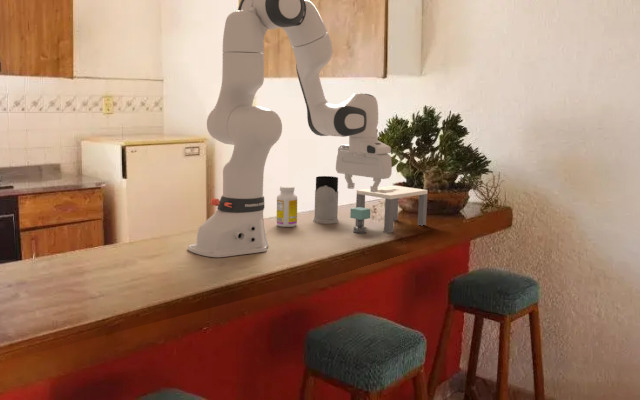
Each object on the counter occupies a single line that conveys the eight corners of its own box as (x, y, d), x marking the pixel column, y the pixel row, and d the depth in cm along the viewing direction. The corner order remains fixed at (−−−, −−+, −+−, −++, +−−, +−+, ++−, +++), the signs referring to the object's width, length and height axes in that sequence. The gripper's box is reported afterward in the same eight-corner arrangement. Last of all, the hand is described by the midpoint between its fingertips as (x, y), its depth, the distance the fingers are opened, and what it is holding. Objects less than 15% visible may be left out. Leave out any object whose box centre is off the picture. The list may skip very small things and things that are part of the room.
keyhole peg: (360, 234, 206) (361, 210, 205) (349, 231, 209) (350, 208, 208) (369, 232, 209) (370, 208, 208) (358, 230, 212) (359, 207, 211)
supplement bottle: (298, 224, 219) (299, 185, 217) (295, 228, 213) (296, 188, 211) (278, 223, 220) (278, 184, 218) (274, 227, 213) (275, 187, 211)
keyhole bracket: (388, 233, 209) (390, 195, 207) (355, 226, 218) (356, 190, 216) (425, 225, 223) (427, 190, 221) (392, 219, 232) (394, 185, 230)
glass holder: (311, 222, 222) (312, 178, 220) (316, 215, 236) (318, 173, 234) (337, 224, 221) (338, 179, 219) (341, 216, 235) (342, 174, 233)
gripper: (331, 144, 210) (331, 187, 212) (382, 149, 196) (381, 195, 198) (345, 143, 214) (344, 185, 217) (395, 147, 200) (393, 193, 203)
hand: (362, 190), depth 207 cm, fingers open, 8 cm apart
